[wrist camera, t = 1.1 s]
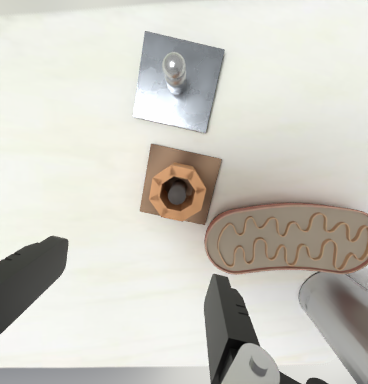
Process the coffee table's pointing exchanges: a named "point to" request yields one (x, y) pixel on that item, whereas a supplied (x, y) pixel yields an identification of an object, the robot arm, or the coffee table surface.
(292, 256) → the anatomical model
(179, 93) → the silver peg on base
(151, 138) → the coffee table surface
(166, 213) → the collar
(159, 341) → the coffee table surface
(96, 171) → the coffee table surface
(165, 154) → the stand
